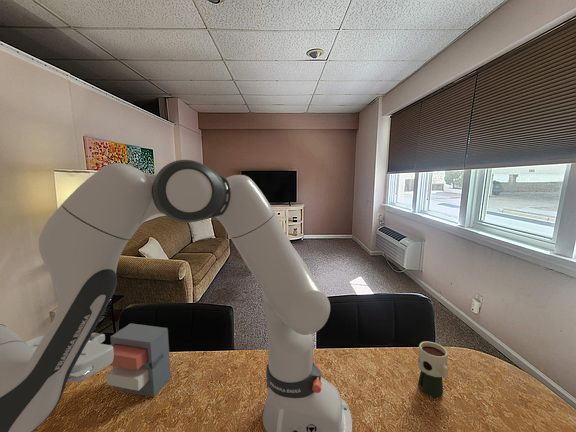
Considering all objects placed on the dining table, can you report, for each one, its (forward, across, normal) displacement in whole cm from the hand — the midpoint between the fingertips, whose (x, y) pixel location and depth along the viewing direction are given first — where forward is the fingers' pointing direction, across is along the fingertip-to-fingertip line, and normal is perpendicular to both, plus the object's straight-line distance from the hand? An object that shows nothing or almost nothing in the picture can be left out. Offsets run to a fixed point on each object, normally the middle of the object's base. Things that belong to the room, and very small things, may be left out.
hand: (100, 336), depth 60 cm
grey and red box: (+14, +1, +22) cm, 26 cm away
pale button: (+8, +1, +17) cm, 19 cm away
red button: (+8, +1, +11) cm, 14 cm away
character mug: (+31, -81, +22) cm, 90 cm away
